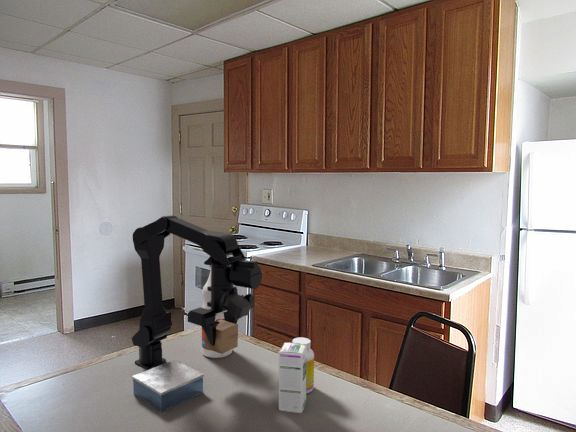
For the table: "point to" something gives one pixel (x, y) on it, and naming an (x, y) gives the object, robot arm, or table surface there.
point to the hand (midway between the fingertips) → (221, 341)
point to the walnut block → (224, 337)
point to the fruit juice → (207, 298)
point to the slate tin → (167, 385)
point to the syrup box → (292, 377)
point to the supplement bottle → (308, 363)
